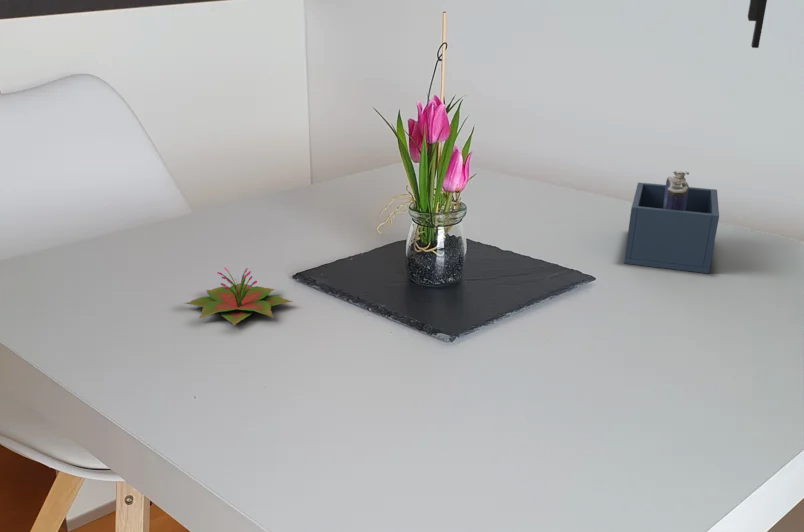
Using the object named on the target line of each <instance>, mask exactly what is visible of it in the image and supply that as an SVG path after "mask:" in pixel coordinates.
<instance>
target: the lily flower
mask: <svg viewBox="0 0 804 532" xmlns="http://www.w3.org/2000/svg"><path fill="white" fill-rule="evenodd" d="M223 269H224V270H225V271H226V272H227V273H228V274H229V276H230V278H231V279H230V278H229V277H227V276H226V275H224V274H223V273H222V272H219V271H217V274H218V275H220V276H221V279H223V280H226V281H227V282H228V283H229V284H230V286H228V285H227V284H225V283H223V282H221V283H220V286H219V287H215V288H212V289H206V290H205V291H206V293H207V295H208V296H200V297H197V298H195V299H192V300H191V301H187V302H184V303H183V304H184V305H190V306H195V307H199V308H200V307H201V308H202V309H201V312H200V313H201V315H199V317H198V320H199V319H201V318H204V317H208V316H209V315H214V314H217V313H220V315H221V317H223V318H224V319H225V320H227V321H228V322H229V323H231V324H232V326H236V325H237V324H238V323H240V322H241V321H243V320H245V319H246V318H247V317H249V316H251V315H252V314H253V312H256V313H259V314H262V315H265V316H268V317H270V318H274V316H273V313H272V307H274V306H278V305H282V304H287V303H292V302H294V301H293V300H289V299H287V298H283V296H279V295H270V294H271V293H272V292H273V291H274V290H276V288H270V287H264V286H258V285H257V286H254V285H255V284H257V283H258V280H254V281H253V282H252V283H251V284H248V283H249V282H250V281H251V280H252V278H253V275H251V276H250V277H249V278H248V280H247V282H246V279H247V277H248V276H249V275H250V274H251V273H252V271H248V270H249V268H248V267H246V268H245V270H244V271H243V274H242V275H241V281H240V282H238V280H237V279H236V278H233V277H232V276H233V275H232V274H231V273H230V272H229V270H228V268H226V267H224V268H223ZM247 271H248V272H247ZM245 282H246V283H245Z"/></svg>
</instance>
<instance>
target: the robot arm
mask: <svg viewBox="0 0 804 532" xmlns="http://www.w3.org/2000/svg"><path fill="white" fill-rule="evenodd" d="M767 3H768V0H749V6H748V11H747V20H748V21H749V22H755V23H754V29H753V33H752V39H751V45H750V46H751V48H752V49H759V48H760V47H759V46H760V42H761V35H762V30H763V25H764V20H765V14H766V9H767Z"/></svg>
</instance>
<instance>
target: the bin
mask: <svg viewBox="0 0 804 532" xmlns="http://www.w3.org/2000/svg"><path fill="white" fill-rule="evenodd" d="M665 187H666V184H660V183H648V182H637V184H636V188H635V193H634V196H633V200H632V204H631V209H630V215H629V222H628V223H629V224H628V231H627V238H626V245H625V250H624V258H623V264H626V265H635V266H642V267H652V268H658V269H659V268H660V269H667V270H668V269H669V270H675V271H684V272H692V273H699V274H709V273H710V268H711V264H712V259H713V253H714V247H715V242H716V236H717V232H718V231H717V230H718V225H719V219H720V211H719V198H718V189H715V188H705V187H693V186H689V191H688V197H687V202H686V208H685V211H680V210H670V209H663V204H664V196H665Z"/></svg>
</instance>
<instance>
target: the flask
mask: <svg viewBox="0 0 804 532" xmlns="http://www.w3.org/2000/svg"><path fill="white" fill-rule="evenodd" d="M672 174H673V175H674V176H668V177H666V180H665V185H666V187H665V196H664V204H663V209H670V210H680V211H685V208H686V202H687V197H688V191H689V187H690V186H689V183H688V181H686V180H687V179H686V177H685V176H686V175H688V176H689V175H690V172H688V171H682V170H680V171H678V170H672Z"/></svg>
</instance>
